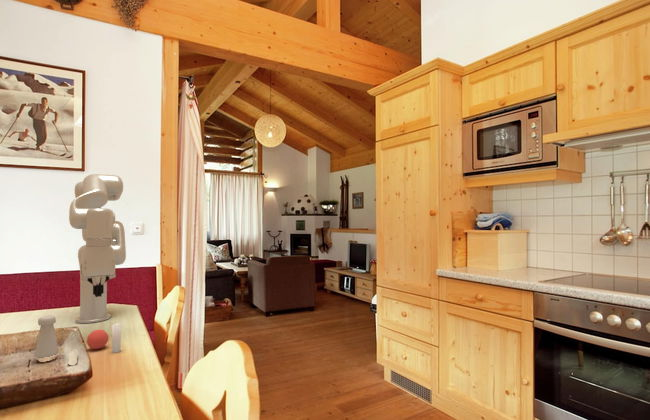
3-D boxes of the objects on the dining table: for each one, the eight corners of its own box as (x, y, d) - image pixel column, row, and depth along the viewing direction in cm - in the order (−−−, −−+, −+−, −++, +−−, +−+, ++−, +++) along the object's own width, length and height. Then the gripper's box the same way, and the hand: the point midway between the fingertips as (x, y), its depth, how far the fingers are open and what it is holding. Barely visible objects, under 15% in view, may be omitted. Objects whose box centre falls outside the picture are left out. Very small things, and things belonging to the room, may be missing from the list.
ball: (88, 351, 117) (91, 353, 122) (109, 342, 120) (111, 345, 125) (83, 332, 119) (86, 336, 124) (104, 324, 122) (106, 328, 127)
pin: (111, 351, 119) (111, 323, 119) (119, 349, 121) (119, 322, 121) (112, 353, 117) (112, 325, 118) (121, 351, 119) (121, 324, 119)
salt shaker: (45, 364, 109) (45, 319, 109) (29, 363, 110) (29, 318, 110) (63, 357, 114) (63, 314, 115) (47, 355, 116) (47, 313, 116)
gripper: (120, 242, 139) (119, 291, 139) (71, 244, 130) (71, 297, 129) (124, 243, 133) (124, 295, 133) (74, 245, 124) (73, 301, 124)
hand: (98, 296), depth 131 cm, fingers closed
